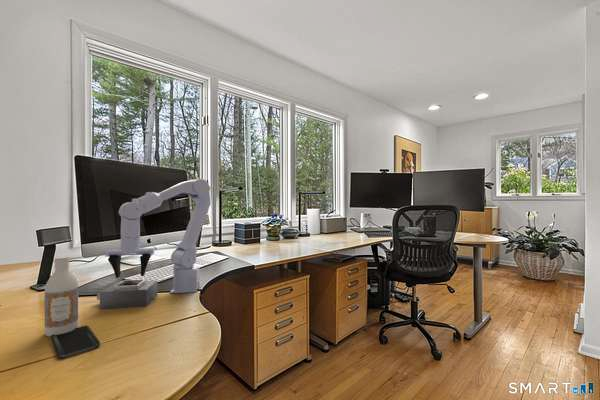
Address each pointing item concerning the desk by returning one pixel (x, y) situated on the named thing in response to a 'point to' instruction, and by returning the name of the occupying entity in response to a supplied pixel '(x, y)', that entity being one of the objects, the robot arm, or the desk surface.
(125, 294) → the grey box with opening
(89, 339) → the phone
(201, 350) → the desk surface
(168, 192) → the robot arm
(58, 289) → the bath foam
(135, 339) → the desk surface
